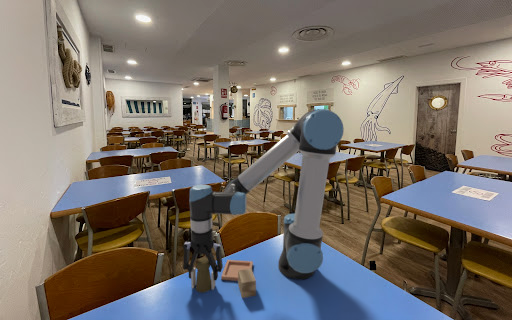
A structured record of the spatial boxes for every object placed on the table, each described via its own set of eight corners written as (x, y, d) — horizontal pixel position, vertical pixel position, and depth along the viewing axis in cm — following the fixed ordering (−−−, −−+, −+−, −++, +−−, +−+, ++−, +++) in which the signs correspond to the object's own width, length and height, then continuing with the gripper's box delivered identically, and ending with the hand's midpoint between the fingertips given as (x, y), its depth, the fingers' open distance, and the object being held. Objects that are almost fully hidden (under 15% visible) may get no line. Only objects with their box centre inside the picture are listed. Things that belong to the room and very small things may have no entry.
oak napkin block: (251, 282, 92) (251, 268, 91) (255, 295, 85) (255, 280, 84) (238, 284, 90) (238, 270, 89) (241, 298, 84) (241, 283, 83)
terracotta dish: (252, 264, 103) (252, 261, 103) (249, 281, 92) (249, 278, 92) (227, 262, 104) (227, 259, 104) (221, 279, 93) (221, 276, 93)
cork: (208, 293, 86) (207, 265, 84) (192, 291, 87) (191, 263, 85) (214, 282, 91) (213, 256, 89) (199, 280, 93) (198, 254, 91)
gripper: (231, 225, 88) (231, 281, 92) (179, 222, 90) (182, 277, 94) (226, 235, 80) (227, 295, 85) (170, 232, 82) (173, 291, 86)
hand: (203, 286), depth 89 cm, fingers open, 7 cm apart
